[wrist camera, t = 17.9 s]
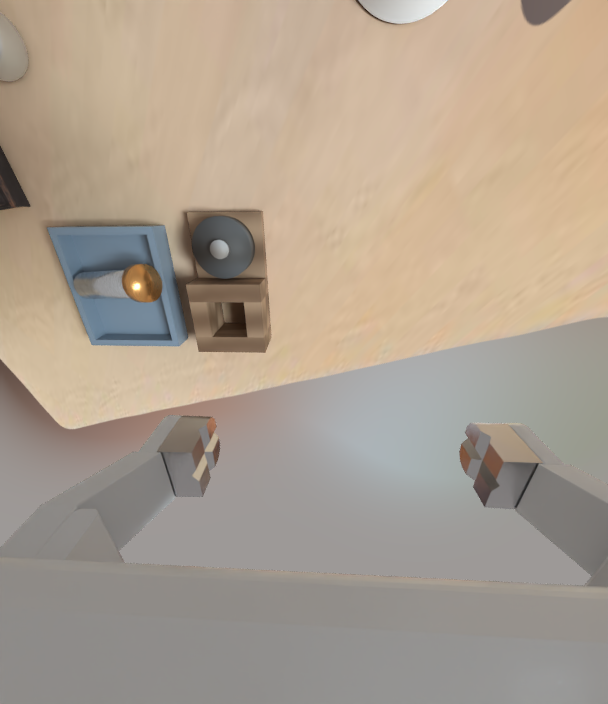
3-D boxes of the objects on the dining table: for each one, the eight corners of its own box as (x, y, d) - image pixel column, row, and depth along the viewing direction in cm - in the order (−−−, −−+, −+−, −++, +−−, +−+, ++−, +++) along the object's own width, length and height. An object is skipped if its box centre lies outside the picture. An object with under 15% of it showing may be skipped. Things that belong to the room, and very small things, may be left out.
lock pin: (63, 270, 40) (124, 265, 36) (98, 266, 44) (156, 262, 40) (77, 306, 42) (137, 306, 38) (109, 299, 46) (166, 298, 42)
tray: (67, 226, 42) (46, 227, 39) (164, 225, 41) (151, 226, 38) (106, 336, 50) (91, 345, 47) (188, 337, 49) (179, 346, 46)
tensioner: (191, 212, 40) (171, 212, 35) (262, 211, 40) (253, 211, 34) (212, 336, 49) (198, 351, 44) (271, 337, 48) (265, 352, 43)
